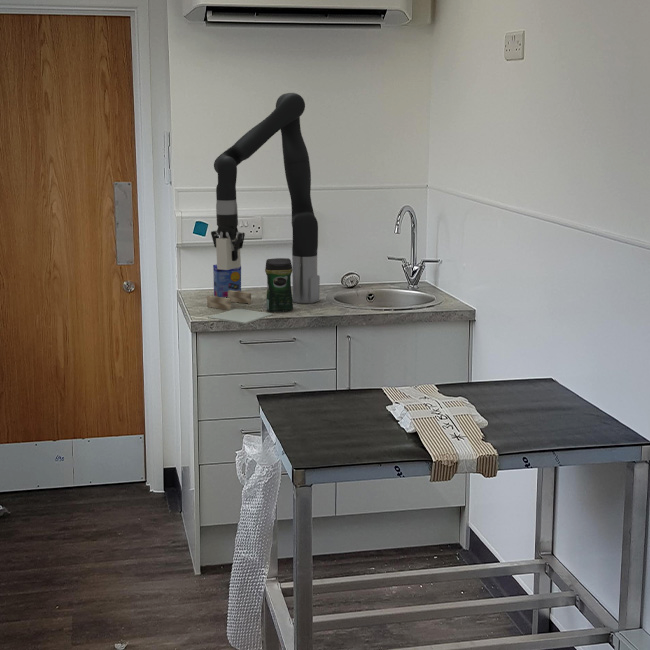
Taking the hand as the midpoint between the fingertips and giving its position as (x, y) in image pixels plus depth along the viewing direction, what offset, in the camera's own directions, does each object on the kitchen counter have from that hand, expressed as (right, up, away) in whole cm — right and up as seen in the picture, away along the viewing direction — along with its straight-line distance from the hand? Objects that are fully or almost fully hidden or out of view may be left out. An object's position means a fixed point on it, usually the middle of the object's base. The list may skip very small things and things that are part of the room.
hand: (228, 259), depth 340 cm
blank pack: (0, -3, +1) cm, 3 cm away
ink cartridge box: (-2, -13, +20) cm, 24 cm away
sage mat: (+6, -21, -15) cm, 26 cm away
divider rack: (0, -16, +4) cm, 17 cm away
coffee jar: (+18, -18, -4) cm, 26 cm away
